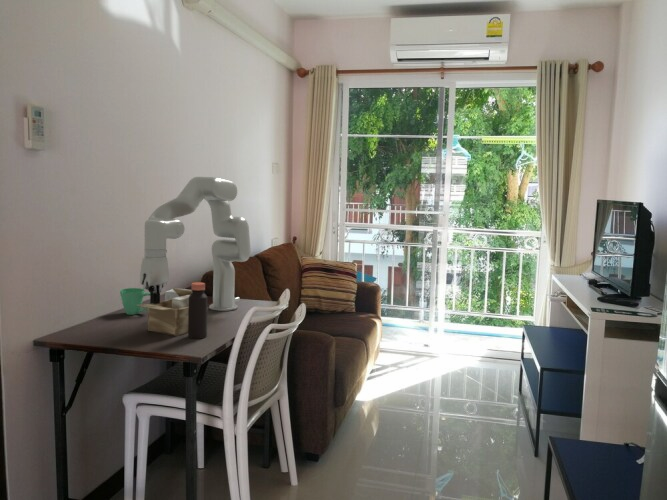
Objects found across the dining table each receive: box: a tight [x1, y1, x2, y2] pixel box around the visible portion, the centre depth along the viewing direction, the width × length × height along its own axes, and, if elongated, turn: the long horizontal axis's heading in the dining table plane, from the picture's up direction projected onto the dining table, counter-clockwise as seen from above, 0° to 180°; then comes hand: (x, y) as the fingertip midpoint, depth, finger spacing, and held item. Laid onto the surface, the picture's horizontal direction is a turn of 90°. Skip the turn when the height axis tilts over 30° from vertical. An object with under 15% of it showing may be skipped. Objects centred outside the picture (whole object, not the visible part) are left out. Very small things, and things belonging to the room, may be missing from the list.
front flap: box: [137, 303, 174, 310], centre depth 204 cm, size 6×12×1 cm, turn 63°
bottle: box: [187, 281, 208, 340], centre depth 205 cm, size 7×7×20 cm
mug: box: [119, 287, 152, 316], centre depth 236 cm, size 15×10×10 cm
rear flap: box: [171, 287, 192, 297], centre depth 219 cm, size 6×12×1 cm
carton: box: [147, 294, 191, 337], centre depth 214 cm, size 16×15×13 cm
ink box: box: [164, 287, 192, 301], centre depth 232 cm, size 8×8×12 cm
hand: (155, 303), depth 203 cm, fingers closed
